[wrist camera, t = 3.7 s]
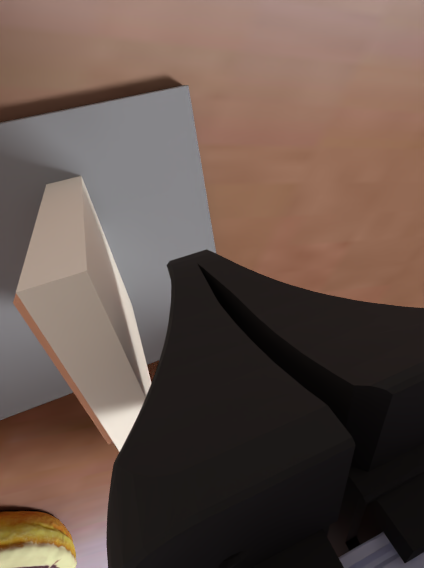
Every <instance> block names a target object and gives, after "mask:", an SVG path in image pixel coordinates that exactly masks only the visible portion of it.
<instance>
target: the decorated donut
mask: <svg viewBox="0 0 424 568" xmlns="http://www.w3.org/2000/svg"><path fill="white" fill-rule="evenodd" d="M76 564H77V561H76V553H75V548H74V544H73V540H72V537H71V535H70V533H69V531H68V530H67V529H66V527H65V526H64V525H63V524H62V523H61V522H60V520H59V519H57V518H55V517H53V516H52V515H49V514H47V513H42V512H37V511H35V512H33V511H18V512H17V511H16V512H12V511H4V512H0V568H75V567H76Z"/></svg>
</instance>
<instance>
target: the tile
mask: <svg viewBox="0 0 424 568" xmlns="http://www.w3.org/2000/svg"><path fill="white" fill-rule="evenodd" d="M13 304H14V305H15V307H16V308H17V310H18V311H19V313H20V314H21V316H22V317H23V319H24V320H25V322H26V323H27V325H28V326H29V328H30V329H31V331H32V332H33V333H34V335H35V336H36V338H37V339H38V341H39V342H40V344H41V345H42V347H43V348H44V350H45V351H46V353H47V354H48V356H49V357H50V359H51V360H52V362H53V363H54V365H55V366H56V368H57V369H58V370H59V372H60V373H61V375H62V376H63V378H64V379H65V381H66V382H67V384H68V385H69V387H70V388H71V390H72V391H73V393H74V394H75V396H76V397H77V399H78V400H79V402H80V403H81V404H82V406H83V407H84V409H85V410H86V412H87V413H88V415H89V416H90V418H91V419H92V421H93V422H94V424H95V425H96V427H97V428H98V430H99V431H100V433H101V434H102V436H103V437H104V439H105V440H106V441H107V443H108V444H111V443H114V444H115V445H116V447H117V448H118V450H119V452H120V450H121V448H122V446H123V445H124V443H125V441H126V439H127V437H128V435H129V433H130V431H131V429H132V427H133V425H134V423H135V421H136V419H137V417H138V414H139V412H140V410H141V408H142V405H143V403H144V400H145V398H146V395H147V393H148V391H149V388H150V386H151V379H150V375H149V371H148V367H147V363H146V359H145V355H144V351H143V347H142V343H141V339H140V335H139V331H138V327H137V323H136V319H135V315H134V311H133V307H132V304H131V301H130V299H129V296H128V294H127V291H126V289H125V286H124V283H123V281H122V278H121V276H120V273H119V271H118V268H117V266H116V263H115V260H114V258H113V255H112V253H111V250H110V248H109V245H108V243H107V240H106V237H105V235H104V232H103V230H102V227H101V225H100V222H99V220H98V217H97V214H96V212H95V209H94V207H93V204H92V202H91V199H90V196H89V194H88V191H87V189H86V186H85V184H84V181H83V179H82V176H78V177H74V178H70V179H66V180H62V181H58V182H54V183H50V184H46V187H45V191H44V194H43V198H42V201H41V205H40V208H39V212H38V215H37V219H36V222H35V226H34V230H33V233H32V237H31V240H30V244H29V247H28V251H27V254H26V258H25V261H24V265H23V268H22V272H21V275H20V279H19V283H18V286H17V290H16V294H15V298H14V301H13Z"/></svg>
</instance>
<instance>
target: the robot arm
mask: <svg viewBox="0 0 424 568" xmlns="http://www.w3.org/2000/svg"><path fill="white" fill-rule="evenodd" d="M167 268H168V272H169V275H170V279H171V306H170V314H169V322H168V328H167V333H166V337H165V342H164V346H163V350H162V353H161V356H160V360H159V363H158V366H157V369H156V372H155V375H154V378H153V381H152V383H151V386H150V388H149V391H148V393H147V395H146V398H145V400H144V403H143V405H142V408H141V410H140V412H139V414H138V417H137V419H136V421H135V423H134V425H133V427H132V429H131V431H130V433H129V435H128V437H127V439H126V441H125V443H124V445H123V446H122V448H121V450H120V452H119V454H118V456H117V458H116V460H115V462H114V465H113V472H112V478H111V486H110V493H109V503H108V514H107V556H108V568H424V308H414V307H402V306H394V305H385V304H377V303H370V302H363V301H357V300H351V299H346V298H341V297H336V296H331V295H326V294H322V293H317V292H313V291H310V290H306V289H303V288H299V287H295V286H292V285H289V284H286V283H283V282H280V281H277V280H274V279H272V278H269V277H266V276H264V275H261V274H259V273H256V272H254V271H252V270H249V269H247V268H245V267H243V266H240V265H238V264H236V263H234V262H232V261H230V260H228V259H226V258H224V257H222V256H220V255H218V254H216V253H214V252H212V251H209V250H207V249H206V250H203V251H200V252H197V253H193V254H190V255H187V256H184V257H181V258H177V259H174V260H171V261H169V262H168V264H167Z"/></svg>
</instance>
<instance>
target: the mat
mask: <svg viewBox="0 0 424 568" xmlns="http://www.w3.org/2000/svg"><path fill="white" fill-rule="evenodd" d="M78 176H82V179H83V181H84V184H85V186H86V189H87V191H88V194H89V196H90V199H91V202H92V204H93V207H94V209H95V212H96V214H97V217H98V220H99V222H100V225H101V227H102V230H103V232H104V235H105V237H106V240H107V243H108V245H109V248H110V250H111V253H112V255H113V258H114V260H115V263H116V266H117V268H118V271H119V273H120V276H121V278H122V281H123V283H124V286H125V289H126V291H127V294H128V296H129V299H130V301H131V304H132V307H133V311H134V315H135V319H136V323H137V327H138V331H139V335H140V339H141V343H142V347H143V351H144V355H145V359H146V363H147V364H150V363H153V362H155V361H158V360H160V356H161V353H162V350H163V346H164V342H165V337H166V333H167V328H168V322H169V314H170V306H171V279H170V275H169V272H168V268H167V264H168V262H169V261H171V260H174V259H177V258H181V257H184V256H187V255H190V254H193V253H197V252H200V251H203V250H206V249H207V250H209V251H212V252H214V253H216V250H215V244H214V238H213V232H212V226H211V220H210V214H209V207H208V201H207V195H206V189H205V183H204V177H203V171H202V165H201V159H200V153H199V147H198V141H197V135H196V129H195V123H194V117H193V111H192V105H191V99H190V93H189V87H188V85H182V86H177V87H172V88H167V89H162V90H158V91H153V92H148V93H143V94H138V95H133V96H128V97H123V98H118V99H113V100H108V101H104V102H99V103H94V104H89V105H84V106H79V107H74V108H69V109H64V110H59V111H54V112H50V113H45V114H40V115H35V116H30V117H25V118H20V119H15V120H10V121H5V122H0V420H2V419H5V418H7V417H10V416H13V415H15V414H18V413H21V412H23V411H26V410H29V409H31V408H34V407H36V406H39V405H42V404H44V403H47V402H50V401H52V400H55V399H58V398H60V397H63V396H66V395H68V394H71V393H73V391H72V390H71V388H70V387H69V385H68V384H67V382H66V381H65V379H64V378H63V376H62V375H61V373H60V372H59V370H58V369H57V368H56V366H55V365H54V363H53V362H52V360H51V359H50V357H49V356H48V354H47V353H46V351H45V350H44V348H43V347H42V345H41V344H40V342H39V341H38V339H37V338H36V336H35V335H34V333H33V332H32V331H31V329H30V328H29V326H28V325H27V323H26V322H25V320H24V319H23V317H22V316H21V314H20V313H19V311H18V310H17V308H16V307H15V305H14V304H13V301H14V298H15V294H16V290H17V286H18V283H19V279H20V275H21V272H22V268H23V265H24V261H25V258H26V254H27V251H28V247H29V244H30V240H31V237H32V233H33V230H34V226H35V222H36V219H37V215H38V212H39V208H40V205H41V201H42V198H43V194H44V191H45V187H46V184H50V183H54V182H58V181H62V180H66V179H70V178H74V177H78Z"/></svg>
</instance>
